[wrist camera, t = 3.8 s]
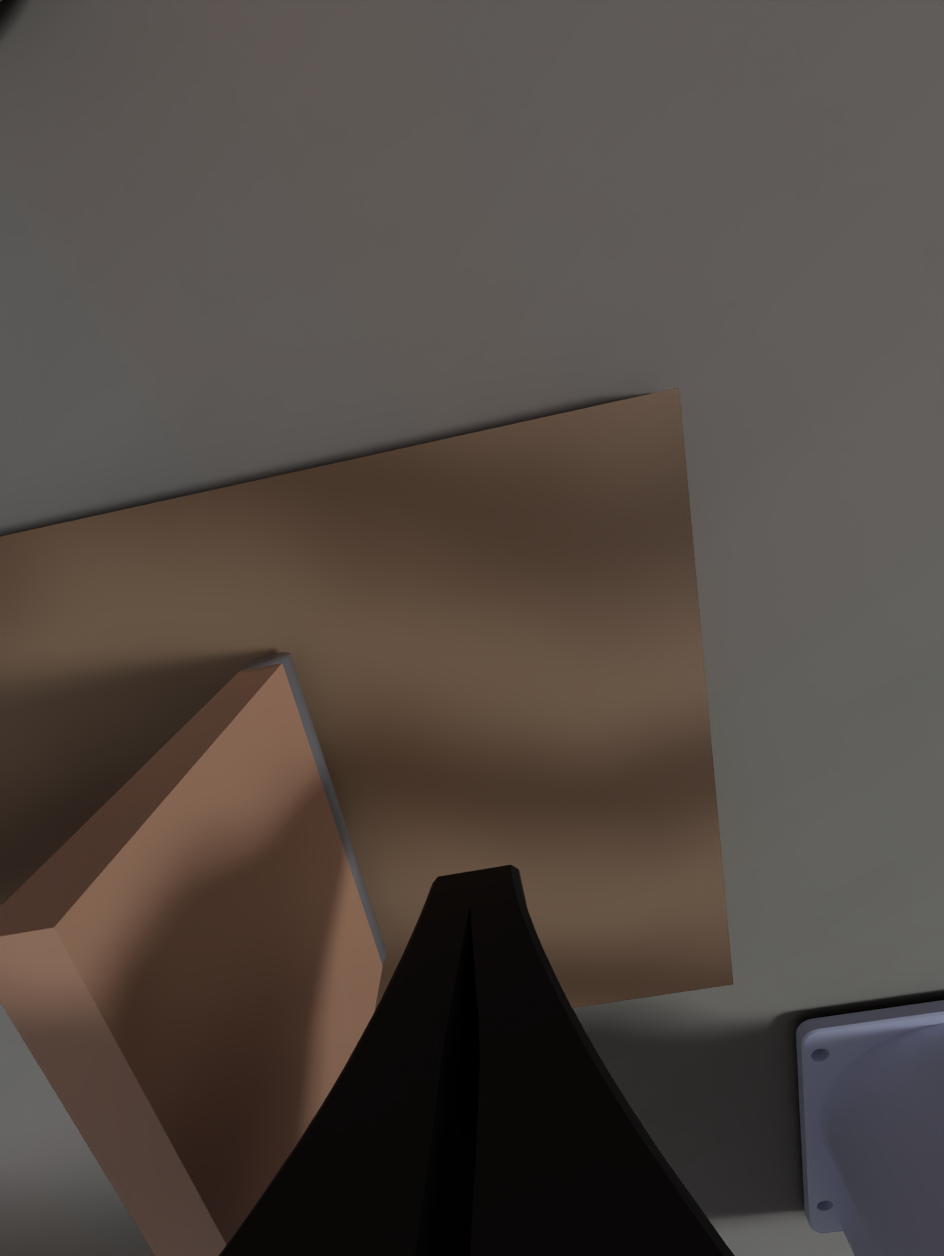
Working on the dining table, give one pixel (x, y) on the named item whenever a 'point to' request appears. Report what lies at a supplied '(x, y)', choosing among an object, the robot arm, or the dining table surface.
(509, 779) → the walnut board
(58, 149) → the dining table surface
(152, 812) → the tile
